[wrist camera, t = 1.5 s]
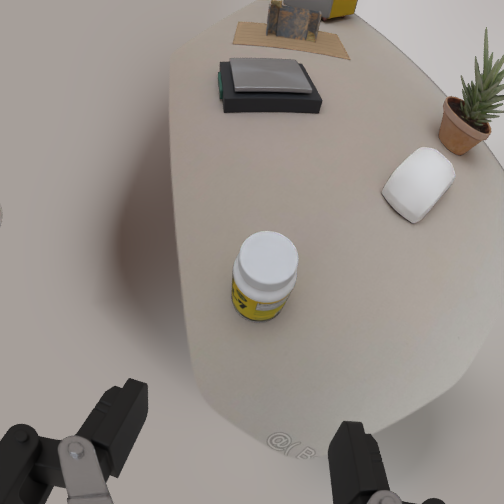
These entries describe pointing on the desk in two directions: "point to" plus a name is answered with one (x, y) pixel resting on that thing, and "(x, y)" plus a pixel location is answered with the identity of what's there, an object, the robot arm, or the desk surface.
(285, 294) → the supplement bottle
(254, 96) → the scale
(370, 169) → the desk surface
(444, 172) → the computer mouse
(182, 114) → the desk surface
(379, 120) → the desk surface
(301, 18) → the ruin model on sheet
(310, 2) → the alarm clock
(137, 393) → the robot arm
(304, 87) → the scale pan
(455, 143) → the potted plant
